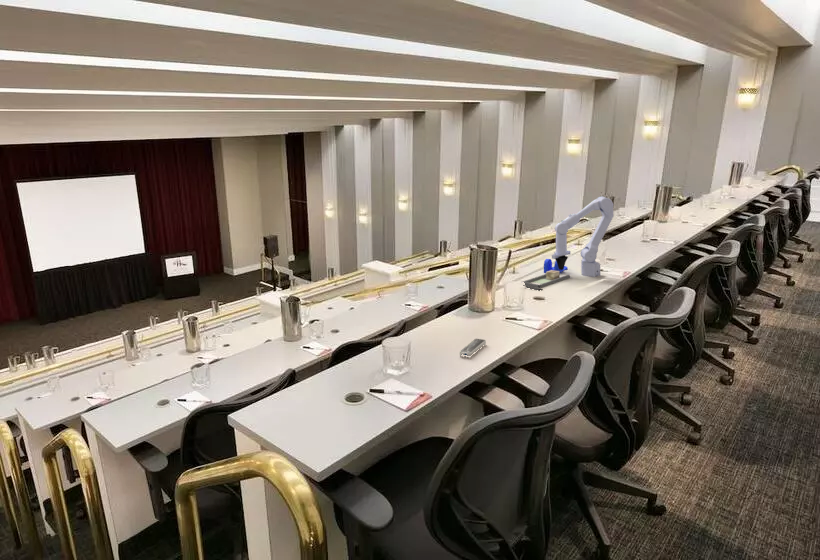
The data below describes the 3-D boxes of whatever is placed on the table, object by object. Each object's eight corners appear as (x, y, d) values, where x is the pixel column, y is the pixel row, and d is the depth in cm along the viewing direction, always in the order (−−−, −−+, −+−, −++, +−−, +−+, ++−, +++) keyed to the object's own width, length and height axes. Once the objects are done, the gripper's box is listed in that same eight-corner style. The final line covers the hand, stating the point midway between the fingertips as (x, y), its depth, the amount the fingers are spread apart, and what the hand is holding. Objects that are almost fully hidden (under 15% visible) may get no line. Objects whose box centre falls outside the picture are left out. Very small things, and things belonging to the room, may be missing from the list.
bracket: (557, 276, 293) (557, 261, 291) (543, 275, 298) (543, 260, 296) (569, 269, 307) (569, 254, 304) (556, 268, 312) (555, 253, 309)
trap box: (569, 280, 283) (569, 274, 283) (539, 290, 267) (539, 285, 266) (551, 277, 292) (551, 272, 291) (521, 287, 276) (521, 282, 275)
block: (559, 278, 283) (559, 271, 282) (554, 280, 280) (554, 273, 279) (551, 277, 286) (551, 269, 286) (546, 278, 283) (546, 271, 282)
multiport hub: (486, 345, 201) (486, 339, 200) (470, 359, 189) (470, 353, 189) (475, 343, 203) (475, 338, 203) (459, 357, 191) (459, 351, 191)
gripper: (562, 242, 291) (562, 266, 294) (546, 246, 282) (547, 271, 285) (573, 243, 286) (573, 267, 289) (558, 247, 277) (558, 272, 280)
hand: (561, 269), depth 287 cm, fingers closed
